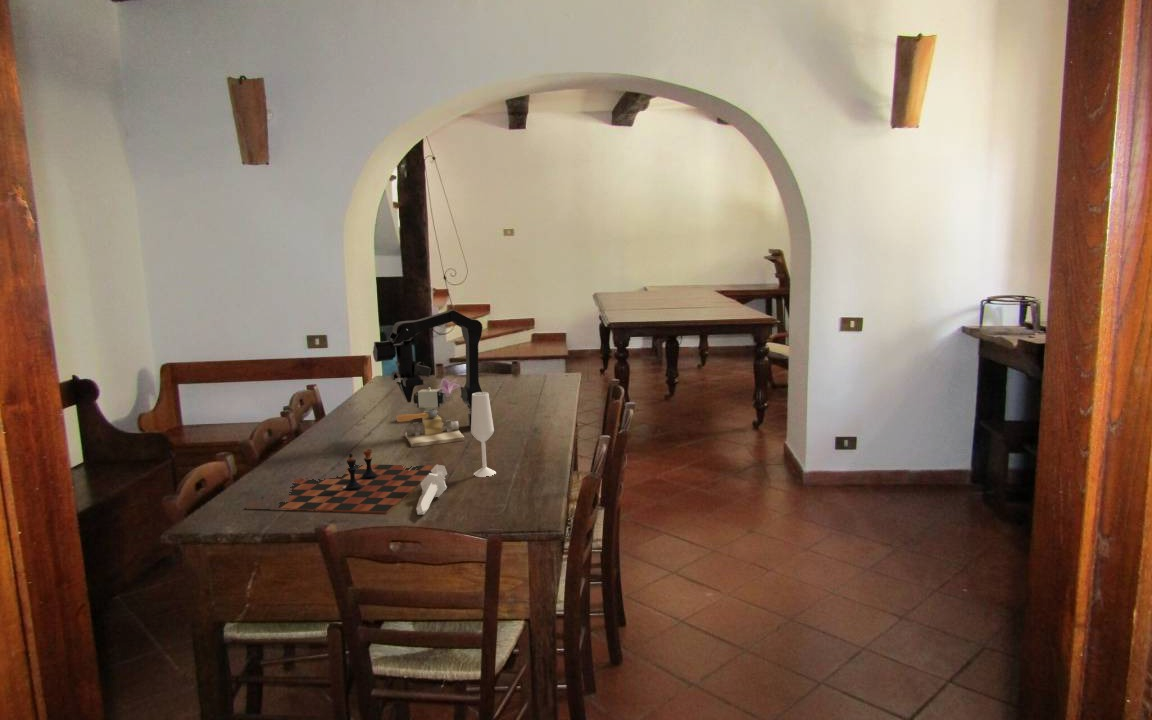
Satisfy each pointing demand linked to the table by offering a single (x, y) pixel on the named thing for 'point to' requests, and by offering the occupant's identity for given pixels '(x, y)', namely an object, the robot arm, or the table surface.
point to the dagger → (431, 487)
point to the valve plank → (435, 438)
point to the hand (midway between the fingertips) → (409, 402)
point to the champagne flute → (482, 427)
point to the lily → (448, 386)
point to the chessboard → (357, 488)
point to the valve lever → (415, 416)
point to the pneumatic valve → (429, 399)
